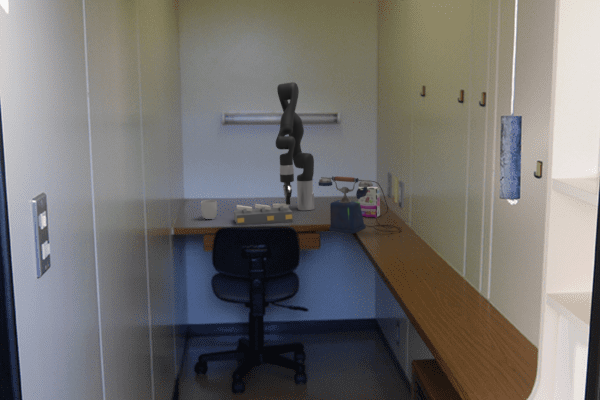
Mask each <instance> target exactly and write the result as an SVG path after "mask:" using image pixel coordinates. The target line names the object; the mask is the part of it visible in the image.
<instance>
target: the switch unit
mask: <svg viewBox="0 0 600 400" xmlns="http://www.w3.org/2000/svg"><path fill="white" fill-rule="evenodd" d="M233 219H234V220H235V221H234V222H236V223H235V224H236V226H237V225H239V226H248V225H247V224H252V225H261V224H263V225H264V224H265V225H266V224H276V223H289V222H290V223H292V221H293V210H291V208H283V206H280V208H274V207H271V209H270V210H267V209H265V207H262V209H260V208H252V211H247V209H246V208H245V209H243V210H240V209H234V210H233Z"/></svg>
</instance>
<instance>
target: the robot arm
mask: <svg viewBox="0 0 600 400" xmlns="http://www.w3.org/2000/svg"><path fill="white" fill-rule="evenodd" d="M277 95H278V96H277V97H278V99H279V102H280V105H281V108H282V112H283V113H282V114H281V118H280V123H279V131H278V134H277V136H276V139H275V147H276V148H277V149H278V150H288V151H287V152H284V153H282V154H279V180H280V181H279V182H280V183H283V185H282V188H283V195H284V197H285V203H286V204H288V205H289V206H290V205H291V197H292V192H293V189H292V188H293V187H292V184H291V183H293V182H294V181H295V175H294V174H295V172H294V169H295V168H297V169H302V173H300V174H297V176H296V193H297V195H296V196H297V197H296V198H297V210H299V211H312V210H315V194H314V190H313V189H314V184H313V182H314V180H313V179H314V173H315V172H314V171H315V170H314V169H315V168H314V167H315V159H314V155H313V154H312V153H310V152H309V153H308V152H303V151H302V145H301V142H302V139H303V137H304V133H305V129H304V124H303V121H302V120H303V119H302V118H301V117H300V115H298V113H296V108H297V103H298V99H299V85H298V84H297V83H296V82H293V81H292V82H284V83H279V84H278V85H277ZM287 135H288V136H287ZM294 166H295V168H294Z"/></svg>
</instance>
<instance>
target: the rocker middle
mask: <svg viewBox="0 0 600 400" xmlns="http://www.w3.org/2000/svg"><path fill="white" fill-rule="evenodd" d="M262 207H265V209H267V210H270V209H271V208H272V206H270V205H267V204H260V203H254V208H255V209H262Z"/></svg>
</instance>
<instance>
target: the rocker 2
mask: <svg viewBox="0 0 600 400" xmlns="http://www.w3.org/2000/svg"><path fill="white" fill-rule="evenodd" d="M280 206H283V208H289V207H290V205H288V204H286V202H285V203H283V202H282V203H277V202H275V203H272V208H280ZM289 209H290V208H289Z"/></svg>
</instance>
